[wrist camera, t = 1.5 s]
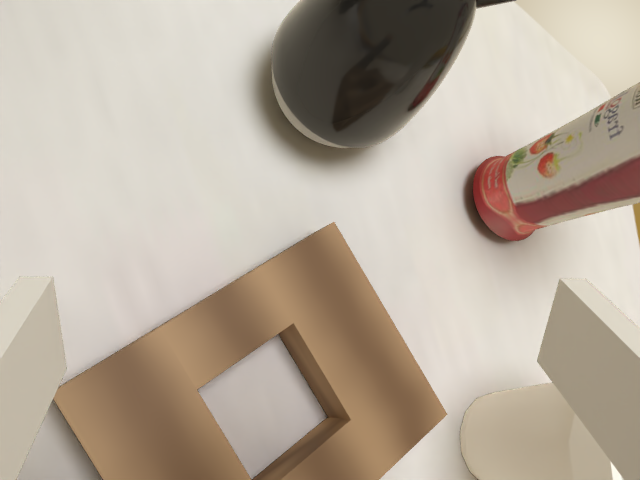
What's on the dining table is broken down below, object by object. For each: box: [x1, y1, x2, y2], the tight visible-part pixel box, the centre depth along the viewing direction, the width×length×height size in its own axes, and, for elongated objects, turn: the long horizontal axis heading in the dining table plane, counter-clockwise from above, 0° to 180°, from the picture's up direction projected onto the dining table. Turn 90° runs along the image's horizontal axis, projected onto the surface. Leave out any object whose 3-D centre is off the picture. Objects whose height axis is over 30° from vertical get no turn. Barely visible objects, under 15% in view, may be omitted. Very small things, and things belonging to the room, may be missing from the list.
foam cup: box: [460, 382, 624, 480], centre depth 35 cm, size 10×9×13 cm
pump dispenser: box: [271, 0, 516, 148], centre depth 34 cm, size 10×10×15 cm
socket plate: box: [53, 222, 447, 480], centre depth 32 cm, size 18×14×3 cm
